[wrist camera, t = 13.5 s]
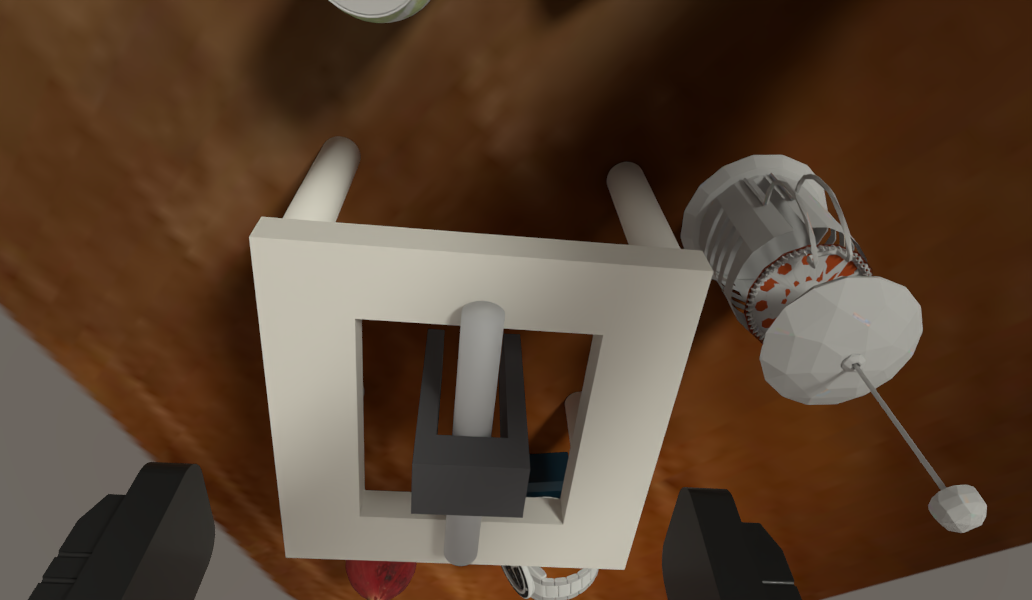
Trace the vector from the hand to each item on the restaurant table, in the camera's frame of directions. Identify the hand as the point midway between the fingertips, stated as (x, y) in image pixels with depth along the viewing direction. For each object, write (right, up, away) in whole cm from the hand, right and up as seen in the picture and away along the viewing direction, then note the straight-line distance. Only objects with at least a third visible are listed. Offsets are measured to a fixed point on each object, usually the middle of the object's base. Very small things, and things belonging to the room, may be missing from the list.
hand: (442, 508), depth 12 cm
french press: (+17, +10, +35) cm, 40 cm away
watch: (+3, -11, +48) cm, 49 cm away
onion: (-10, -16, +50) cm, 54 cm away
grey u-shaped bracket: (-1, 0, +31) cm, 31 cm away
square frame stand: (-2, +4, +37) cm, 37 cm away
